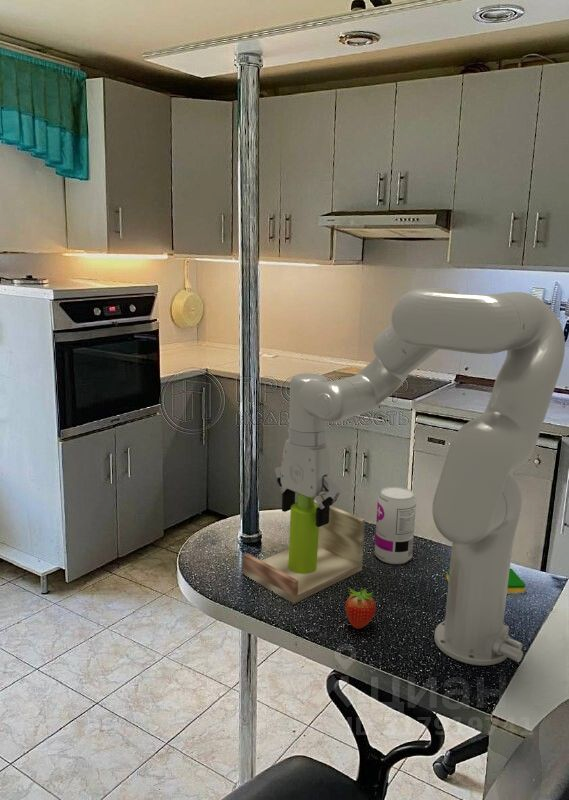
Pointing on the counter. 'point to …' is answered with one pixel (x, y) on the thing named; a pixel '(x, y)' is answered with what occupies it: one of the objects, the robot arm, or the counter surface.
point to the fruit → (360, 608)
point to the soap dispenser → (303, 536)
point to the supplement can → (395, 525)
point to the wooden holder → (334, 560)
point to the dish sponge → (513, 582)
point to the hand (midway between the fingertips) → (304, 517)
